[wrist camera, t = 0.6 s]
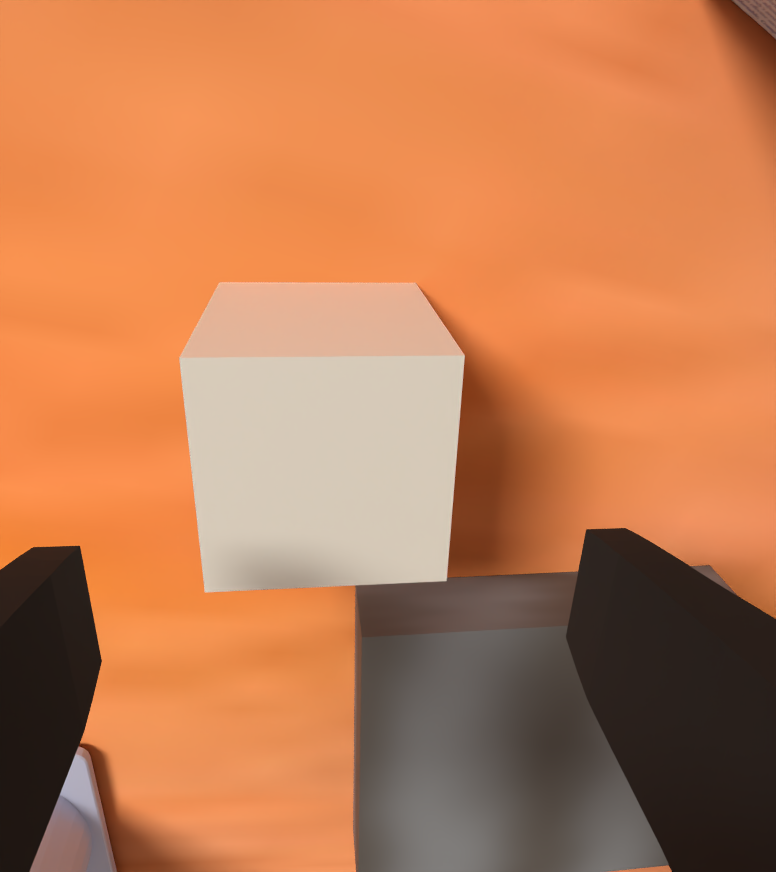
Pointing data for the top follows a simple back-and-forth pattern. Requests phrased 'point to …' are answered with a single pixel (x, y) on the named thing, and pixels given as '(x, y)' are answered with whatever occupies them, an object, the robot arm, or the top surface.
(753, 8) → the medicine box
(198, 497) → the cream block
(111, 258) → the top surface
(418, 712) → the slate panel
